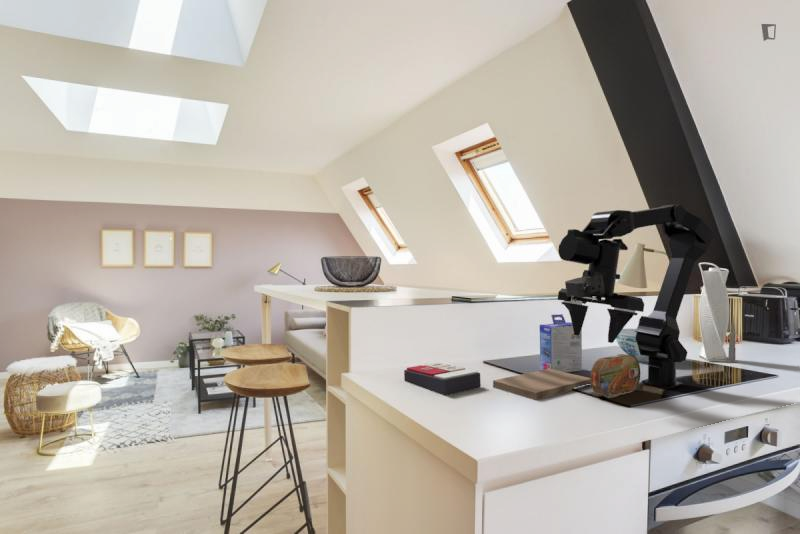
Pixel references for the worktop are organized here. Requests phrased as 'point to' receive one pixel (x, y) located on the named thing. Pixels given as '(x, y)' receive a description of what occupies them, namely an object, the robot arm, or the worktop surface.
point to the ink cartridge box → (560, 346)
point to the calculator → (443, 378)
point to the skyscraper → (715, 316)
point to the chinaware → (630, 344)
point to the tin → (615, 375)
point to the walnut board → (541, 383)
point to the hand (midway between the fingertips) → (592, 338)
